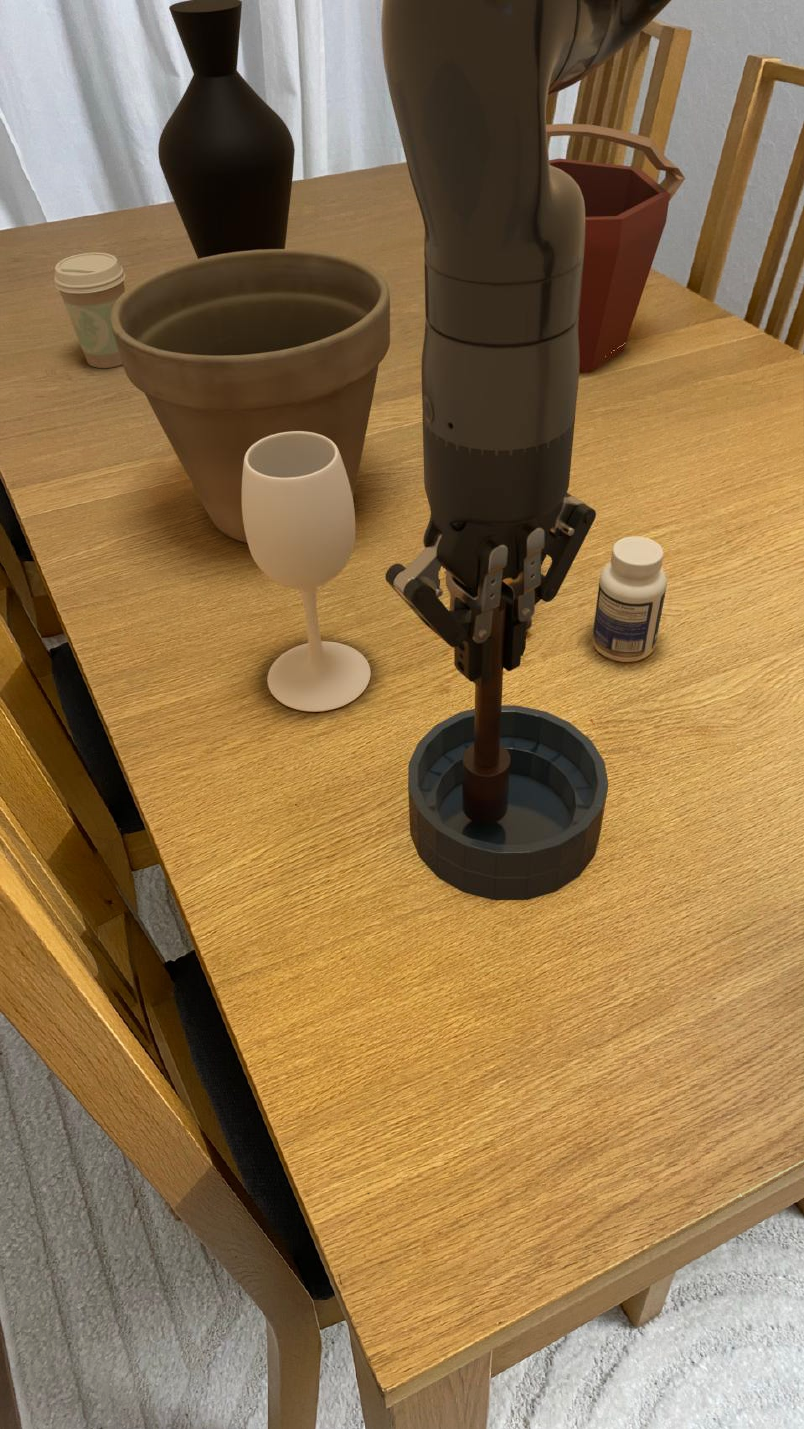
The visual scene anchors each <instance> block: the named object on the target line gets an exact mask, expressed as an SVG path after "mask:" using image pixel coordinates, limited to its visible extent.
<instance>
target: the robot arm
mask: <svg viewBox="0 0 804 1429" xmlns="http://www.w3.org/2000/svg"><path fill="white" fill-rule="evenodd" d="M671 2H672V0H382V3H381V4H382V5H381V21H380V22H381V23H380V24H381V26H380V32H381V33H380V34H381V51H382V58H383V59H382V60H383V66H384V71H385V72H384V73H385V77H386V82H387V88H388V92H389V96H390V100H391V104H392V107H393V113H394V116H395V120H396V125H397V128H398V132H399V136H400V140H401V145H402V148H403V152H404V157H405V160H406V165H407V169H408V170H407V171H408V174H409V178H410V182H411V184H412V188H413V191H414V194H415V197H416V201H417V205H418V208H419V210H420V214H421V217H422V218H421V219H422V221H423V226H424V237H423V238H424V242H423V243H424V245H423V256H424V261H423V264H424V302H425V303H424V308H425V318H424V319H425V321H424V325H425V327H424V337H423V345H422V351H421V352H422V354H421V369H420V370H421V397H422V398H421V402H422V404H421V405H422V406H421V407H422V408H421V409H422V413H421V415H422V444H423V446H422V447H423V454H422V455H423V485H424V490H425V494H426V498H427V501H428V506H429V510H430V517H429V521H428V524H427V526H426V529H425V531H424V535H423V546H424V549H422V551H421V552H420V553H419V554H418V555H417V556H416V557H415V558H414V559H413V560H412V561H411V563H409V565H408V566H406V567H405V566H404V565H403V564H401V563H394V564H392V565H391V566H390V567H389V568H388V569H387V570H386V573H385V578H384V579H385V581H386V583H388V585H389V586H390V587H391V588H392V590H393V591H394V592H395V593H396V594H397V595H398V596H399V597H400V598H401V599H402V600H403V601H404V603H405V604H406V605H407V606H408V607H409V608H410V609H411V610H412V611H413V613H414V615H416V616H417V617H418V618H419V619H420V620H421V622H422V623H423V624H424V625H425V626H427V627H428V628H429V629H430V631H432V632H433V633H434V634H436V635H437V636H438V637H439V638H441V640H443V642H445V643H446V644H447V645H448V646H450V647H451V648H453V650H454V651H453V656H454V657H453V658H454V660H453V662H454V663H453V665H454V667H455V669H456V671H458V672H459V673H460V674H461V675H462V676H464V677H465V678H466V679H467V680H468V681H469V682H470V683H473V684H474V685H475V684H476V685H477V686H479V687H480V686H482V685H484V684H486V683H488V682H490V680H491V659H492V637H491V636H490V634H491V627H492V616H493V609H495V608H497V607H499V605H500V598H501V599H503V600H504V601H505V603H506V619H505V641H504V664H503V669H505V670H506V671H508V672H511V671H513V670H515V669H517V668H519V667H520V666H521V659H522V657H523V656H524V654H525V651H526V648H527V647H526V646H527V632H528V630H527V620H528V619H530V618H531V619H532V617H533V615H534V613H535V608H536V605H537V604H538V603H539V602H540V601H541V600H542V601H543V602H546V603H550V602H551V601H553V600H554V599H555V598H556V597H557V595H558V593H559V591H560V589H561V588H562V585H563V583H564V581H565V579H566V577H567V575H568V574H569V571H570V569H571V567H572V565H573V563H574V561H575V559H576V557H577V555H578V553H579V551H580V549H581V548H582V546H583V543H584V541H585V540H586V538H587V536H588V534H589V531H590V530H591V528H592V526H593V524H594V522H595V519H596V516H597V512H596V510H595V509H594V508H592V507H591V506H589V505H587V503H585V501H582V500H581V499H579V498H578V497H576V496H574V495H571V494H570V493H568V491H569V487H570V480H571V479H570V477H571V469H572V468H571V467H572V457H573V456H572V455H573V444H574V433H575V423H576V410H577V400H578V390H579V389H578V388H579V381H580V380H579V379H580V373H579V365H580V352H579V334H578V321H579V316H578V315H579V308H580V297H581V285H582V274H583V263H584V250H585V202H584V198H583V195H582V192H581V189H580V187H579V185H578V184H577V183H576V182H575V180H574V179H573V178H572V177H571V176H570V175H568V174H567V173H566V172H564V171H563V170H561V169H559V168H556V167H554V166H552V165H550V163H549V160H550V155H549V154H550V153H549V142H548V137H547V131H546V125H547V103H548V97H550V96H552V95H554V94H556V93H558V92H561V91H563V90H565V89H567V88H569V87H571V86H573V85H575V84H577V83H579V82H580V81H581V80H583V79H585V78H587V77H588V76H590V75H591V74H592V73H594V72H595V71H597V69H599V68H600V67H601V66H603V65H604V64H605V63H607V61H609V60H610V59H612V58H613V57H614V56H615V55H616V54H617V53H618V52H620V51H621V50H622V49H624V47H625V46H627V45H628V44H629V43H631V41H632V40H633V39H634V38H636V37H637V36H638V34H640V33H641V32H642V31H643V30H644V29H645V28H646V27H648V25H649V24H650V23H651V22H652V21H653V20H654V19H655V18H656V17H657V16H658V15H659V14H660V13H661V12H662V11H663V10H664V9H665V8H666V7H667V6H668V4H670V3H671ZM547 556H548V557H549V558H550V559H551V564H550V565H549V568H548V569H547V571H546V573H545V575H544V574H543V573H542V565H543V564H544V562H545V560H546V558H547ZM441 568H443V569H444V570H445V586H446V588H447V590H448V593H449V609H448V608H447V607H446V605H445V604H444V603H443V602H442V601H441V599H440V598H441V597H442V595H443V593H444V590H443V589H442V588H440V587H441V579H440V578H439V572H440V570H441Z"/></svg>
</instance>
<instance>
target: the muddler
mask: <svg viewBox="0 0 804 1429" xmlns="http://www.w3.org/2000/svg"><path fill="white" fill-rule="evenodd" d="M505 619H506V603H505V601H504V600H503V599H501V598H500V605H499V607H497V608H495V609H493V616H492V627H491V634H490V636H491V637H492V659H491V680H490V682H488V683H486V684H484V685H482V686H480V687H479V686H477V685H476V684H475V683H474V709H475V719H474V744H473V745H471V746H469V747H468V748H467V749H466V751H465V752H464V754H463V769H462V809H463V812H464V814H465V815H466V816H467V817H468V818H469V819H470V820H472V821H474V822H476V823H479V824H492V823H495V822H498V821H499V820H501V819H502V818H503V817H504V816H505V815H506V813H507V810H508V795H509V778H510V755H509V753H508V751H507V750H506V749H505V748H504V747H503V746H501V745H500V731H501V709H502V705H503V687H504V686H503V685H504V684H503V682H504V668H503V664H504V641H505Z"/></svg>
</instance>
